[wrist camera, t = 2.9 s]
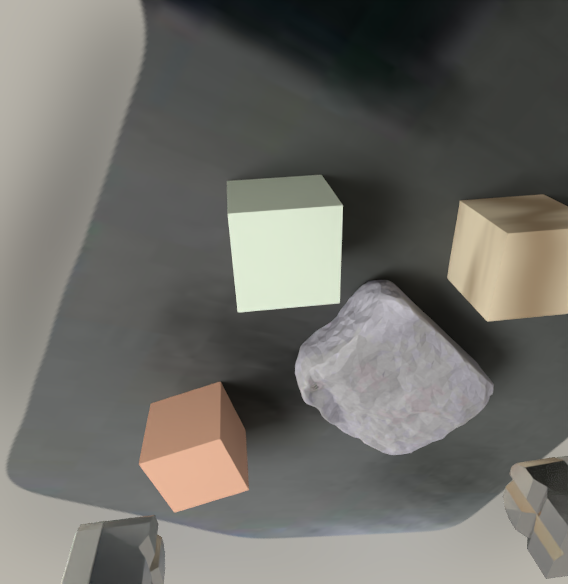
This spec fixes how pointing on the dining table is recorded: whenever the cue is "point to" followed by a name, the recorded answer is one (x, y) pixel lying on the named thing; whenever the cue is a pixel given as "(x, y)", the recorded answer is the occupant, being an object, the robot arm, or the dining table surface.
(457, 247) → the birch cube
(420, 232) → the dining table surface
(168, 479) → the terracotta cube
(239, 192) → the sage cube
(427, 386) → the stone block
